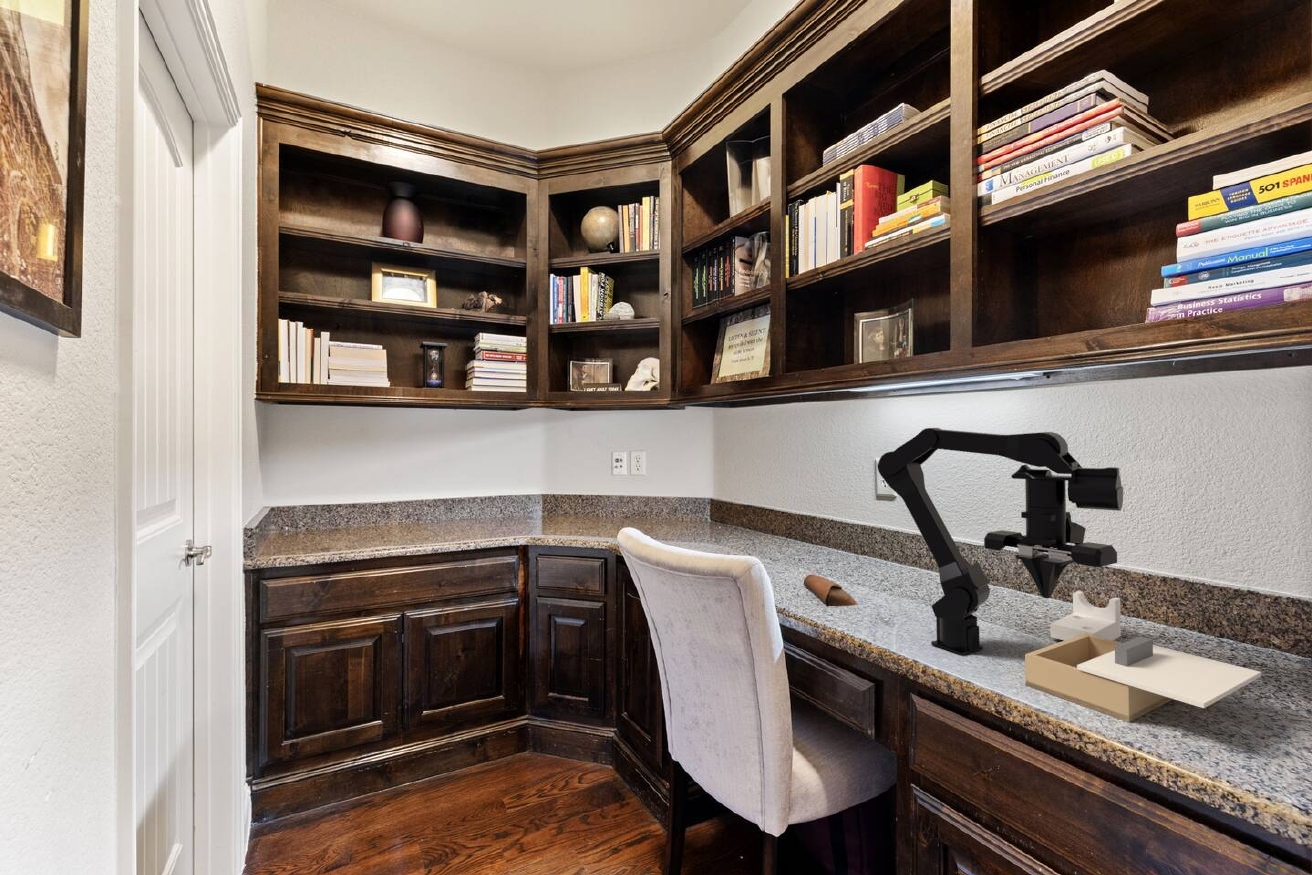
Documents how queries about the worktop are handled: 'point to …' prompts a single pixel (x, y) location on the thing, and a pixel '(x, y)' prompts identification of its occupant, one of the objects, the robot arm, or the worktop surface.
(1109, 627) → the bracket
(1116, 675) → the lid
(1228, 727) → the worktop surface
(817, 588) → the sunglasses case
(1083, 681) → the box
